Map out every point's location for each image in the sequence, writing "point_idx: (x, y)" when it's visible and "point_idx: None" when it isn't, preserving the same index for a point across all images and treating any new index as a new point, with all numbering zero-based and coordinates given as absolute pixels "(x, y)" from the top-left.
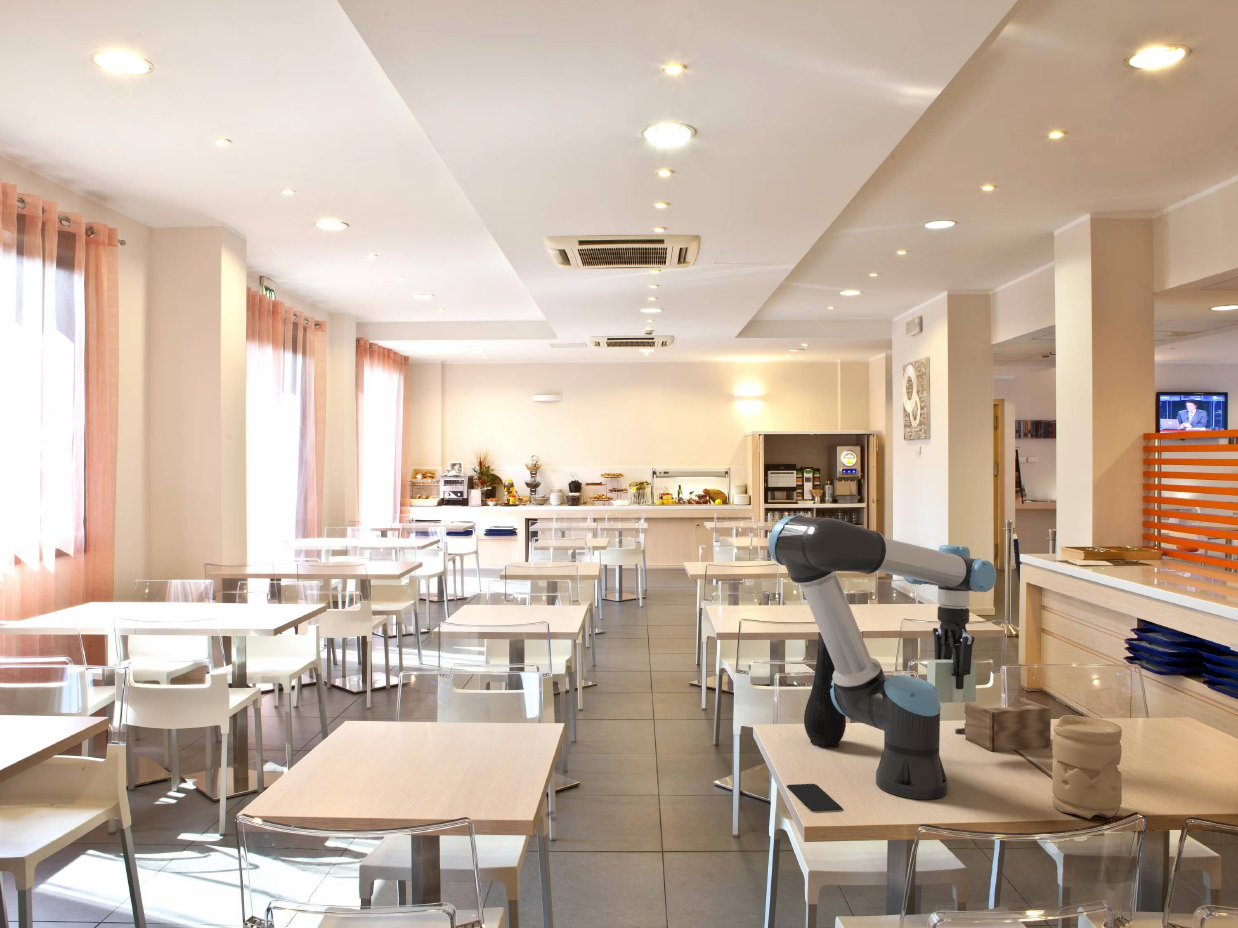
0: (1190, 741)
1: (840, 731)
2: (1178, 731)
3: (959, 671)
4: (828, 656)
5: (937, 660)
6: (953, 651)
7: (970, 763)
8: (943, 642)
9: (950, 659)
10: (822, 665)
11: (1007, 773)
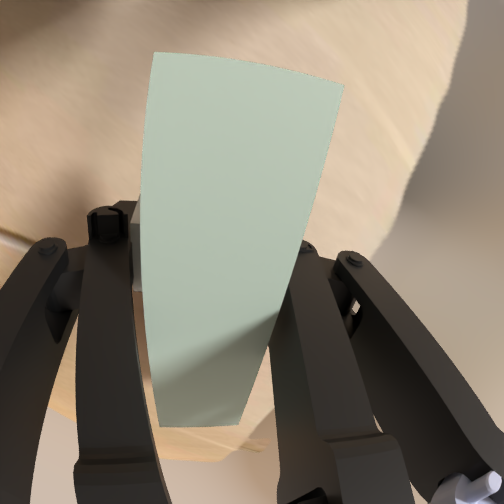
0: (156, 444)
1: None
2: (187, 451)
3: (57, 251)
4: None
5: (269, 193)
6: (114, 411)
7: (106, 126)
8: (351, 475)
9: (265, 349)
10: None
11: (37, 167)
